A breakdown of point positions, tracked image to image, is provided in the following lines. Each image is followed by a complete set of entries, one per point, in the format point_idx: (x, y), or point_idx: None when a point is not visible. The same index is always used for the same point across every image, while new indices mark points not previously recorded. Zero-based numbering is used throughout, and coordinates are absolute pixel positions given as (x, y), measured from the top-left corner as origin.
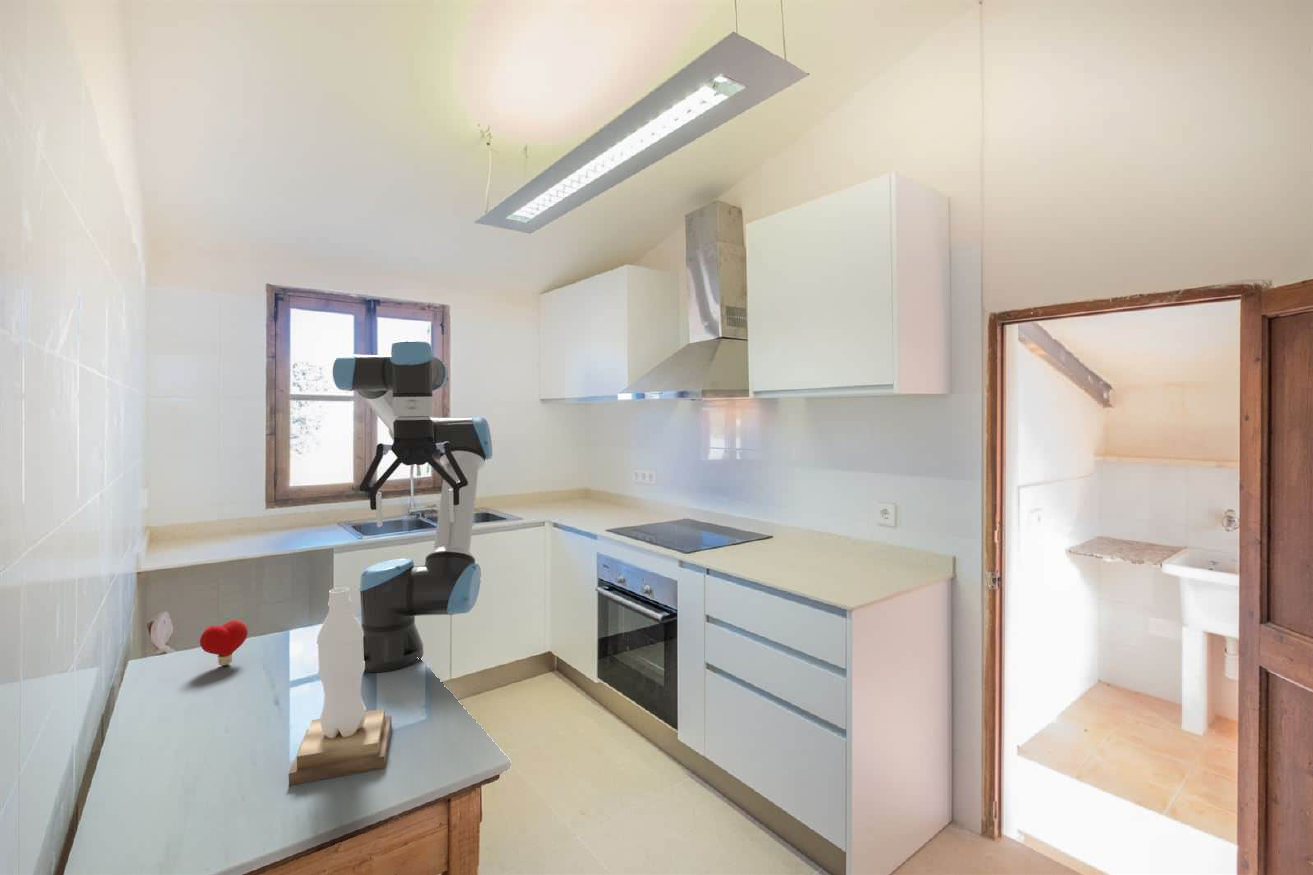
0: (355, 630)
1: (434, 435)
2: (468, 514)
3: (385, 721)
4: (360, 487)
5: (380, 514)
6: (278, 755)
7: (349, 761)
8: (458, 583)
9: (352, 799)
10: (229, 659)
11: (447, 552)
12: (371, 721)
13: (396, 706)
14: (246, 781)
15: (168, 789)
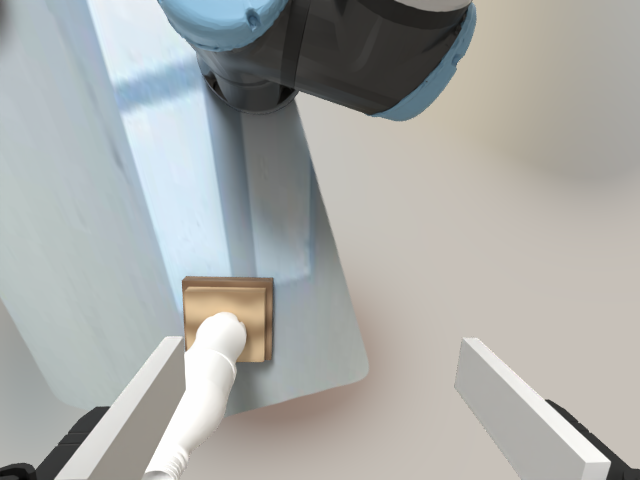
0: (213, 432)
1: None
2: None
3: (266, 293)
4: None
5: (162, 433)
6: (163, 297)
7: None
8: (401, 105)
9: (249, 388)
10: None
11: (407, 8)
12: (252, 317)
13: (275, 231)
14: (147, 333)
15: (76, 323)
